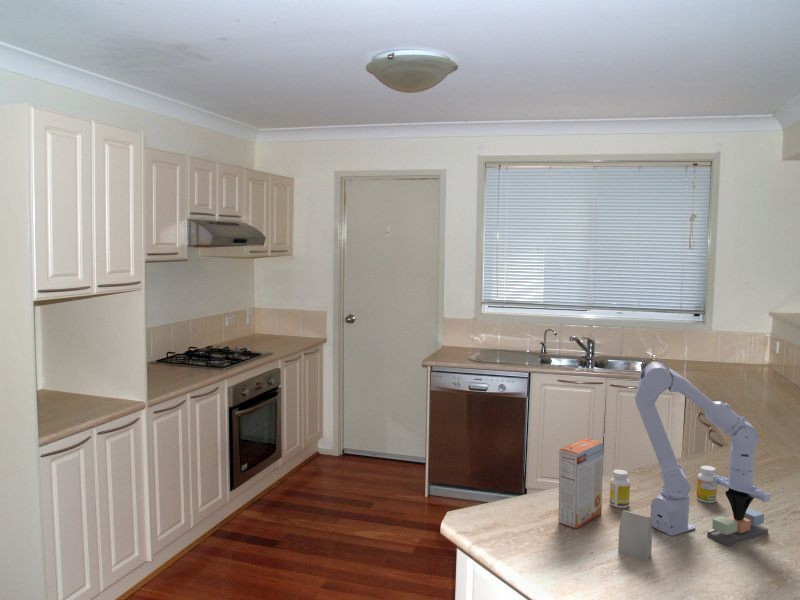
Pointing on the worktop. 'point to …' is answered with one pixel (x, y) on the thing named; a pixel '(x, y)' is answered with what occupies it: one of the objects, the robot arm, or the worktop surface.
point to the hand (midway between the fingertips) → (738, 518)
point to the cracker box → (580, 482)
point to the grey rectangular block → (635, 535)
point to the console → (737, 535)
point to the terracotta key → (742, 524)
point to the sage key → (724, 525)
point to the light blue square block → (754, 517)
